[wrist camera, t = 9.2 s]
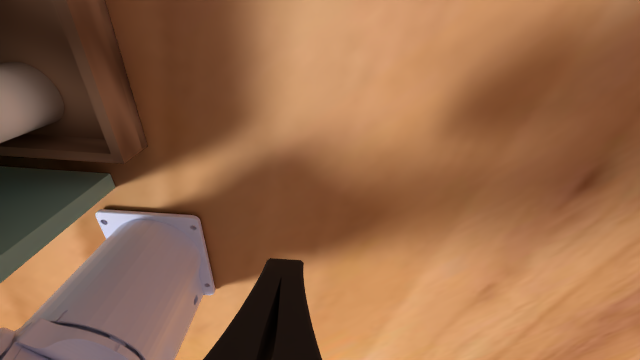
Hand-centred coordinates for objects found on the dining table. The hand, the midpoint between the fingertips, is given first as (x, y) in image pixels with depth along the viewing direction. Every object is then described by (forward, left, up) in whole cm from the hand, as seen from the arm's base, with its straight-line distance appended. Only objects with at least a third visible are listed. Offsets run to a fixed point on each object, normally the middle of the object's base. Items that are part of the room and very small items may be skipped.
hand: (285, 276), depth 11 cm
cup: (+4, +16, -9) cm, 19 cm away
